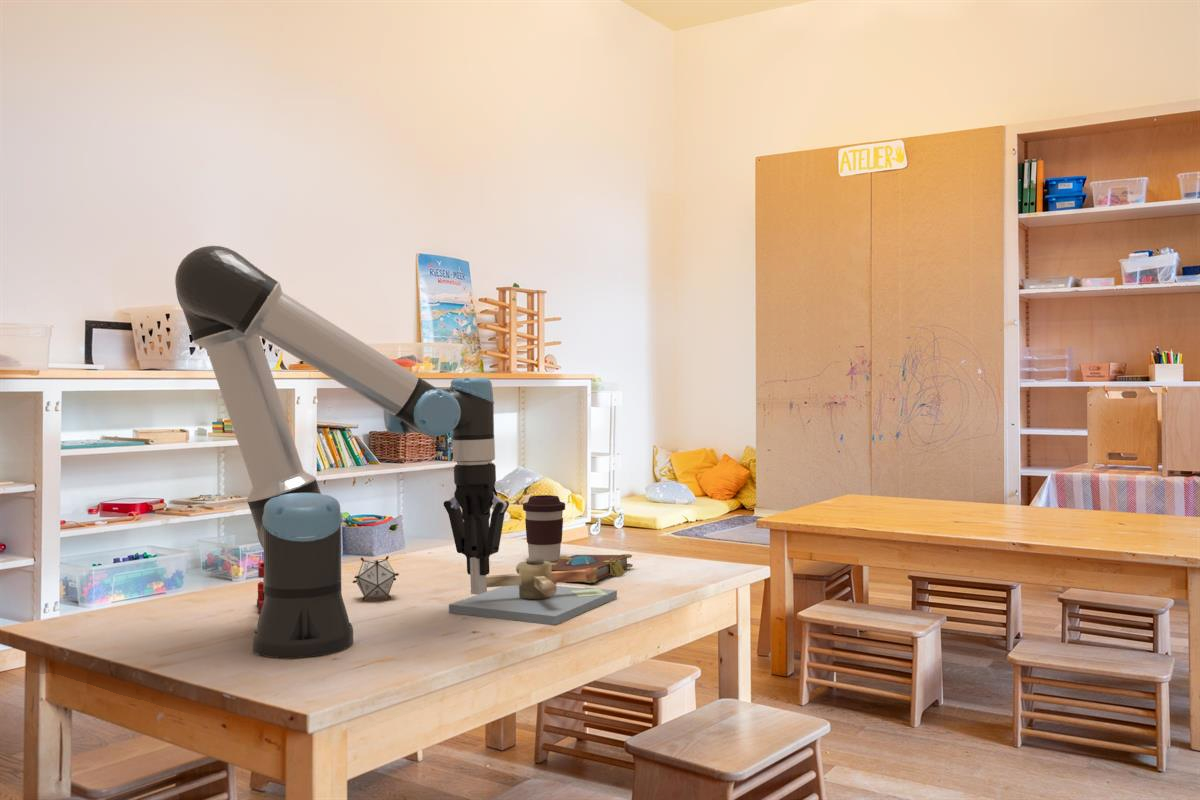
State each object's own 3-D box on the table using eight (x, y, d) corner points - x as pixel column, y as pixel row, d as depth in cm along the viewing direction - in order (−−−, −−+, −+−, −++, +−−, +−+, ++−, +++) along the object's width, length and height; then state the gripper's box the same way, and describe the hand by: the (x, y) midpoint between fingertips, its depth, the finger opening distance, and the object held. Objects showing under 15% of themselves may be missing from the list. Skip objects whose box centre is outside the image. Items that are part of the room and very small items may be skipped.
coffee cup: (569, 562, 229) (568, 498, 229) (526, 564, 227) (526, 499, 227) (561, 555, 239) (560, 493, 239) (520, 557, 237) (519, 495, 236)
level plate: (557, 625, 168) (556, 610, 168) (448, 612, 178) (448, 598, 178) (618, 598, 190) (618, 584, 190) (518, 588, 200) (518, 575, 200)
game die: (381, 619, 190) (384, 583, 184) (342, 602, 191) (344, 566, 185) (404, 589, 197) (408, 553, 191) (367, 572, 198) (370, 537, 192)
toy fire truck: (275, 602, 188) (274, 552, 188) (278, 618, 175) (278, 563, 175) (256, 604, 187) (256, 553, 187) (258, 620, 174) (258, 565, 174)
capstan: (484, 613, 169) (484, 574, 169) (461, 587, 192) (461, 552, 192) (615, 604, 176) (615, 565, 176) (578, 579, 199) (578, 546, 199)
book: (520, 590, 205) (519, 565, 205) (574, 570, 227) (572, 548, 227) (591, 592, 198) (590, 567, 198) (639, 571, 220) (638, 548, 220)
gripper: (516, 461, 179) (520, 591, 180) (457, 461, 186) (461, 586, 186) (493, 464, 173) (497, 599, 173) (432, 464, 179) (436, 594, 179)
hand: (478, 592), depth 179 cm, fingers closed
